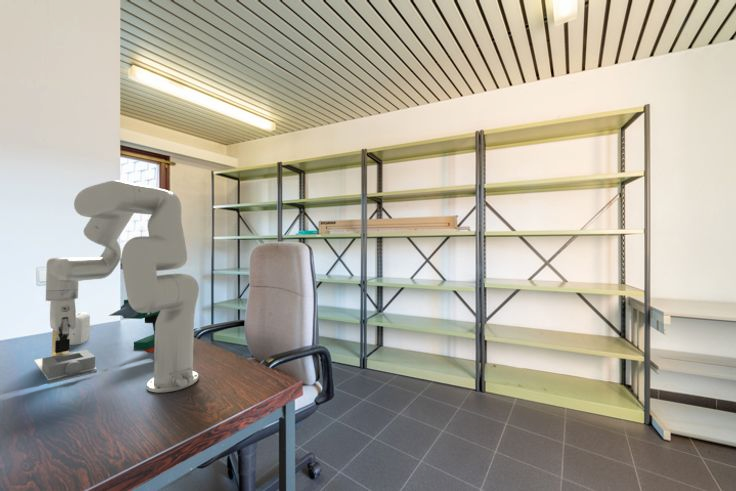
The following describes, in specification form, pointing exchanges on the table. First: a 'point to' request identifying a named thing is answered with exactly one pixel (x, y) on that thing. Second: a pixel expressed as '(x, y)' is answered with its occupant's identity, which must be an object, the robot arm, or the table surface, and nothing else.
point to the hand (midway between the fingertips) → (60, 349)
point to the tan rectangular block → (54, 338)
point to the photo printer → (80, 329)
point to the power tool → (151, 317)
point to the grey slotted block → (67, 365)
